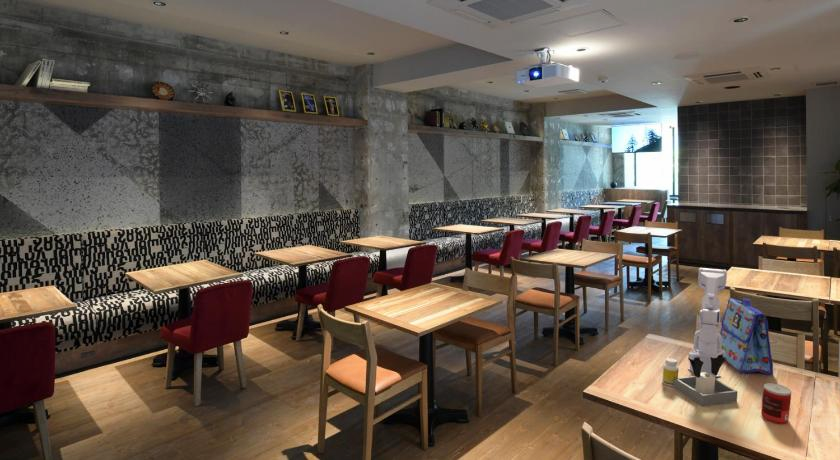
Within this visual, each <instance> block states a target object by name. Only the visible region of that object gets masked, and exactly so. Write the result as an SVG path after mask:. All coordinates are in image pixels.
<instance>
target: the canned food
mask: <svg viewBox="0 0 840 460" xmlns="http://www.w3.org/2000/svg"><path fill="white" fill-rule="evenodd" d="M791 398H792V390H791V389H790V388H788V386H785V385H782V384H778V383H772V382H771V383H765V384H763V388H762V400H761V409H760V410H761V412H760V413H761V416H762V419H764V420H766V421H767V422H770V423H772V424H776V425H786V424H788V422H789V419H790V410H791V400H792V399H791Z"/></svg>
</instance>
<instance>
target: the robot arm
mask: <svg viewBox="0 0 840 460" xmlns="http://www.w3.org/2000/svg"><path fill="white" fill-rule="evenodd" d="M727 276H728V271H727V270H726V269H719V268H707V267H699V268H698V277H697V282H698V283H697V284H698V286H699V288H700V289H702V290H704V291H703V292H704V295H703V296H702V298H701V308H700V310H699V317H698V318H699V319H698V321H699V322H698V323H699V330H696V331H695V332H694V337H693V350H692V351H691V352H688V355H687V359H688V361H689V367H688V368H687V370H688V371H691V372H692V373H693V376H696V377H698V378H699V377H700V374H701V372H706V373H709V374H710V375H712V376H714V377H715V378H720V377H722V375H721V374H719V372H720V370H721V367H722V365H723V364H724V363H725V362H727V361H726V358H725V357H723V356H726V351H724V350H722V337H721V335H720V333H719V326H720V325H721V309H720V302H721V301H720V297H718V294H719V292H720V291H723V290H725V288H726V284H727V278H728V277H727ZM718 341H719V342H718Z"/></svg>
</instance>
